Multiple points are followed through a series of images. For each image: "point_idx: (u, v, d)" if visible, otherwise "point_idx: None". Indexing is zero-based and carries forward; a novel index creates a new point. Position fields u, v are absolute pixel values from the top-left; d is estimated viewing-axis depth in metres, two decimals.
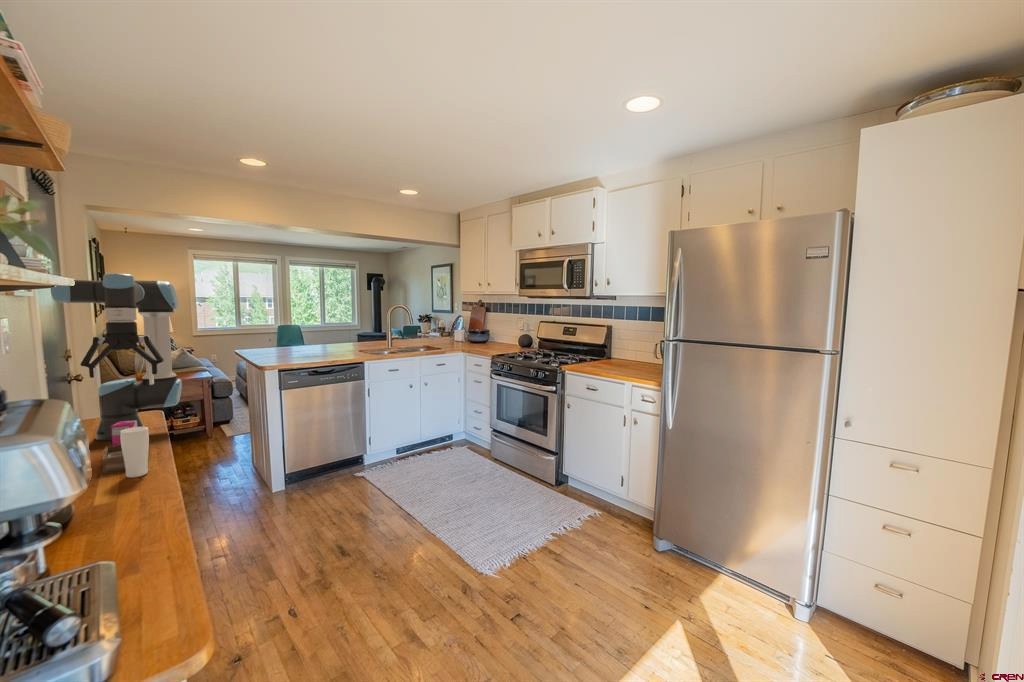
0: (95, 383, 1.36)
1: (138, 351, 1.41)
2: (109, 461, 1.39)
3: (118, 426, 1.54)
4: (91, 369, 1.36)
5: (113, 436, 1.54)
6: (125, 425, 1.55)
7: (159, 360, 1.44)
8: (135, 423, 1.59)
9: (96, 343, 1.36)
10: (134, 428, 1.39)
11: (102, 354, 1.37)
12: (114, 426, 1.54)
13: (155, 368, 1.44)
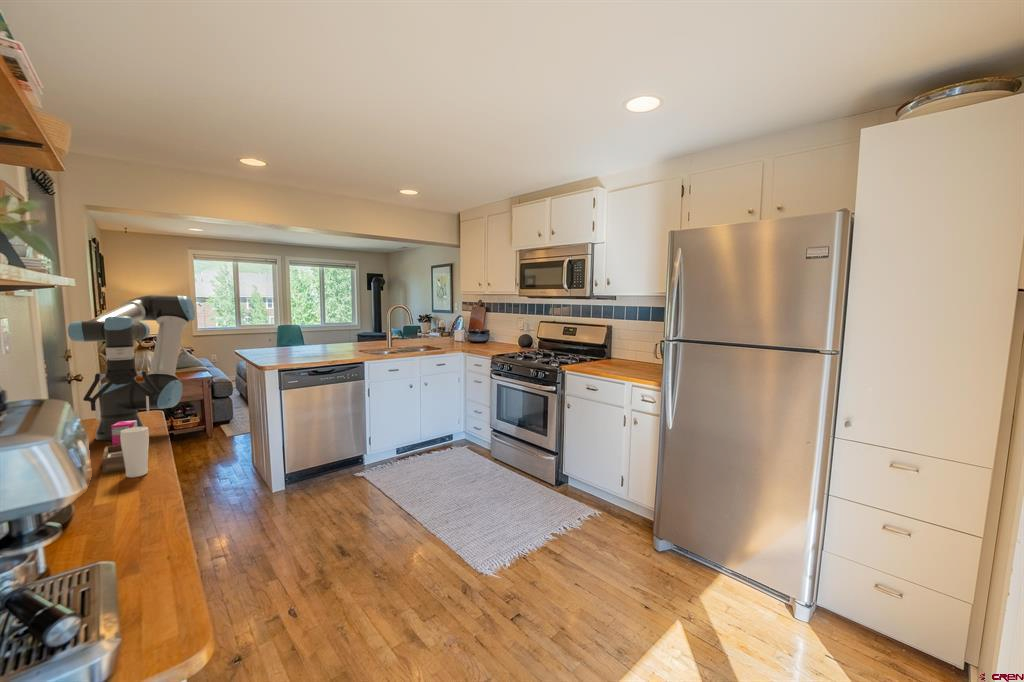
0: (97, 415, 1.51)
1: (136, 385, 1.58)
2: (109, 461, 1.39)
3: (118, 426, 1.54)
4: (93, 403, 1.51)
5: (113, 436, 1.54)
6: (125, 425, 1.55)
7: (156, 392, 1.61)
8: (135, 423, 1.59)
9: (98, 379, 1.51)
10: (134, 428, 1.39)
11: (103, 389, 1.52)
12: (114, 426, 1.54)
13: (151, 399, 1.61)
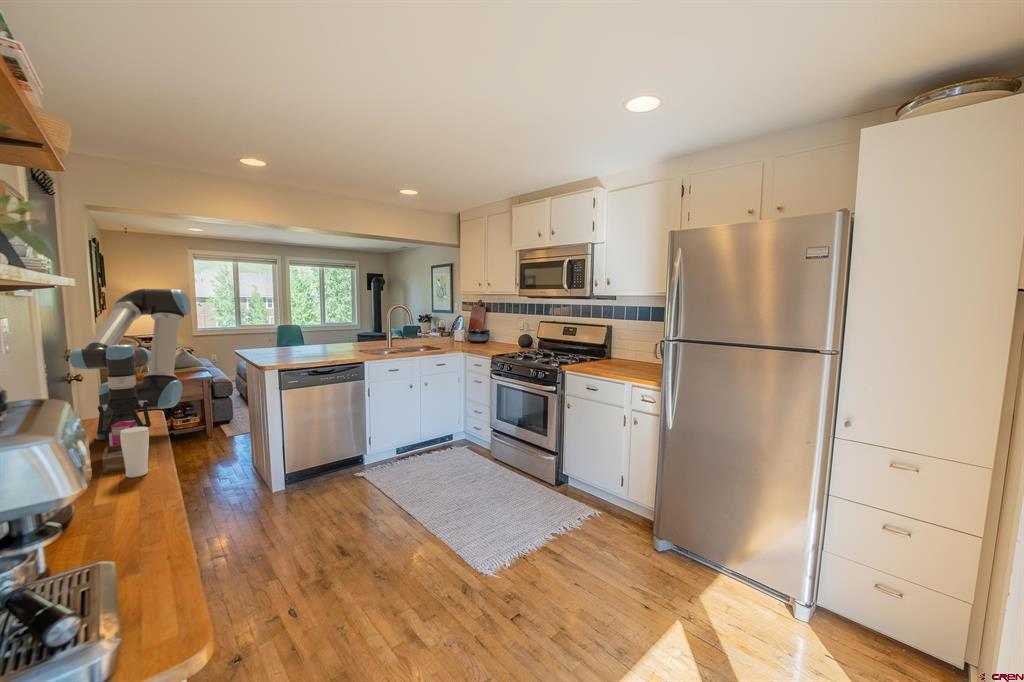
0: None
1: (134, 415, 1.58)
2: (109, 461, 1.39)
3: (118, 426, 1.54)
4: (106, 435, 1.54)
5: (113, 436, 1.54)
6: (125, 425, 1.55)
7: (148, 424, 1.61)
8: (135, 423, 1.59)
9: (102, 411, 1.52)
10: (134, 428, 1.39)
11: (112, 420, 1.54)
12: (114, 426, 1.54)
13: None
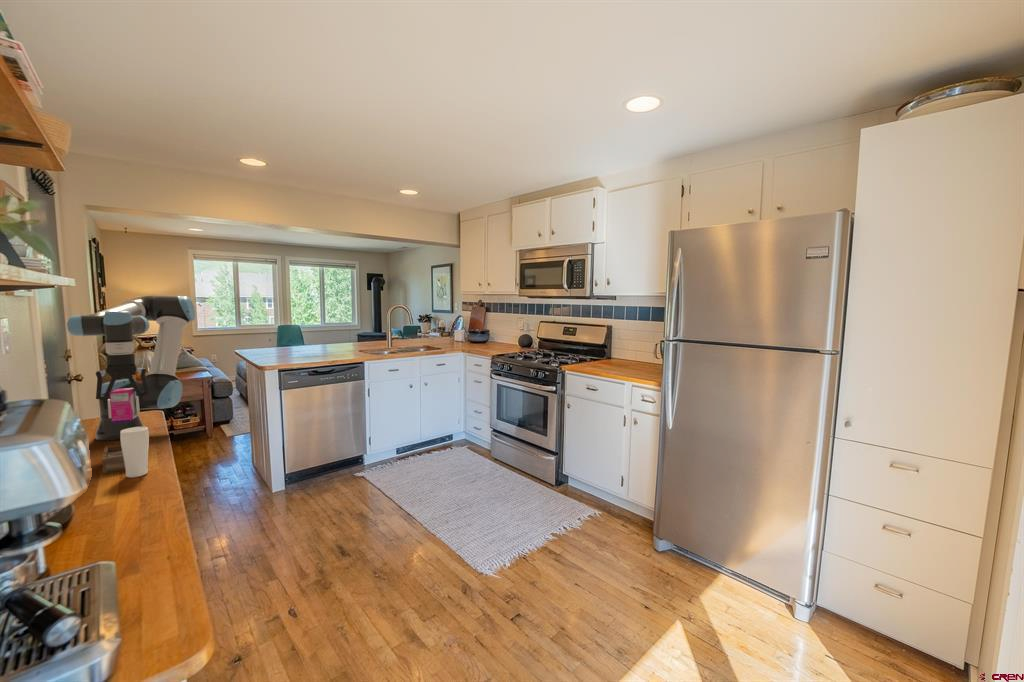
0: (109, 413, 1.54)
1: (132, 382, 1.57)
2: (109, 461, 1.39)
3: (117, 392, 1.54)
4: (105, 401, 1.53)
5: (112, 402, 1.53)
6: (124, 392, 1.54)
7: (146, 392, 1.60)
8: (134, 391, 1.59)
9: (100, 377, 1.51)
10: (134, 428, 1.39)
11: (110, 386, 1.53)
12: (113, 392, 1.53)
13: (142, 399, 1.60)
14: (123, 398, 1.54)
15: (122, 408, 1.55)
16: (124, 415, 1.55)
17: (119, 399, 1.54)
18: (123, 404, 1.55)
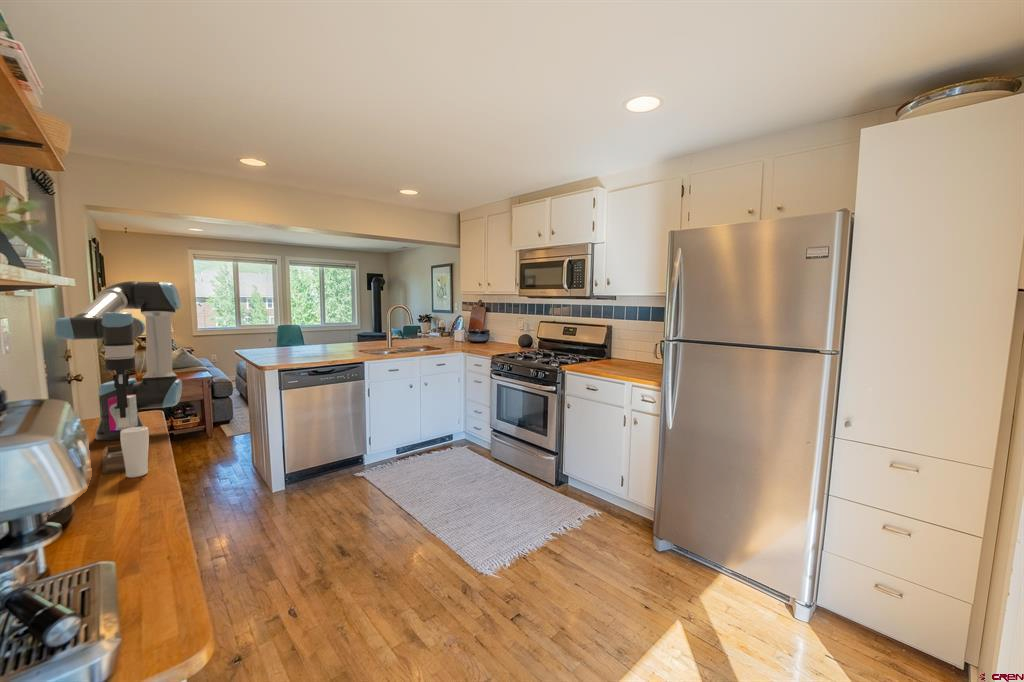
0: None
1: None
2: (109, 461, 1.39)
3: None
4: None
5: None
6: None
7: None
8: None
9: None
10: (134, 428, 1.39)
11: None
12: None
13: (120, 412, 1.42)
14: None
15: None
16: None
17: None
18: None
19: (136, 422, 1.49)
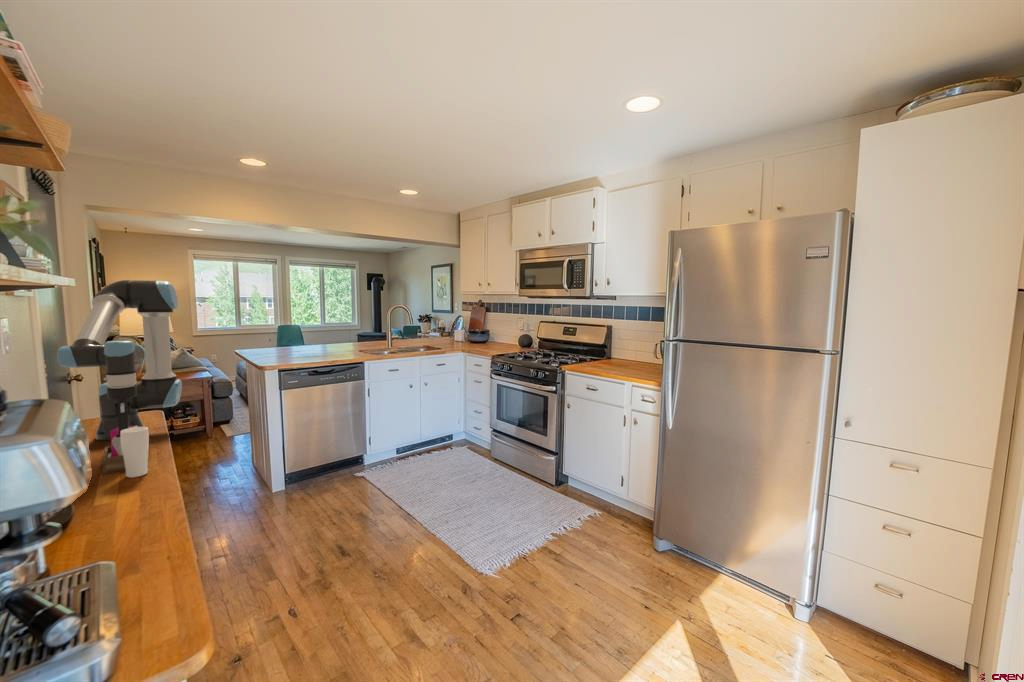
0: None
1: None
2: (109, 461, 1.39)
3: None
4: None
5: None
6: None
7: None
8: None
9: None
10: (134, 428, 1.39)
11: None
12: None
13: None
14: None
15: None
16: None
17: None
18: None
19: None
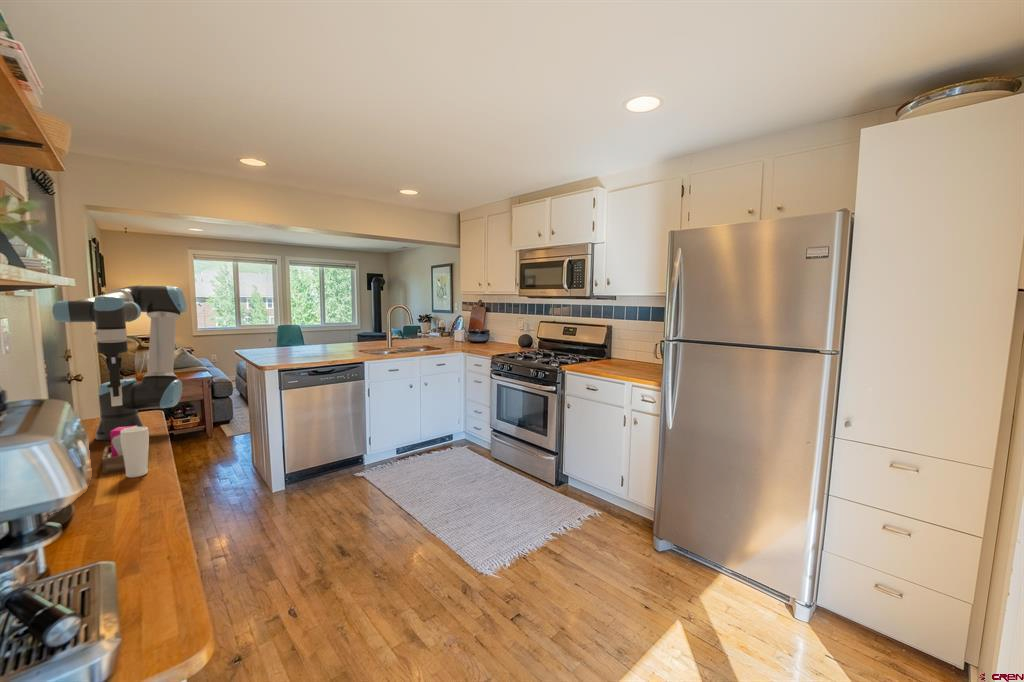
0: None
1: None
2: (109, 461, 1.39)
3: None
4: None
5: None
6: None
7: (110, 384, 1.41)
8: None
9: None
10: (134, 428, 1.39)
11: None
12: None
13: (113, 391, 1.42)
14: None
15: None
16: None
17: None
18: None
19: None
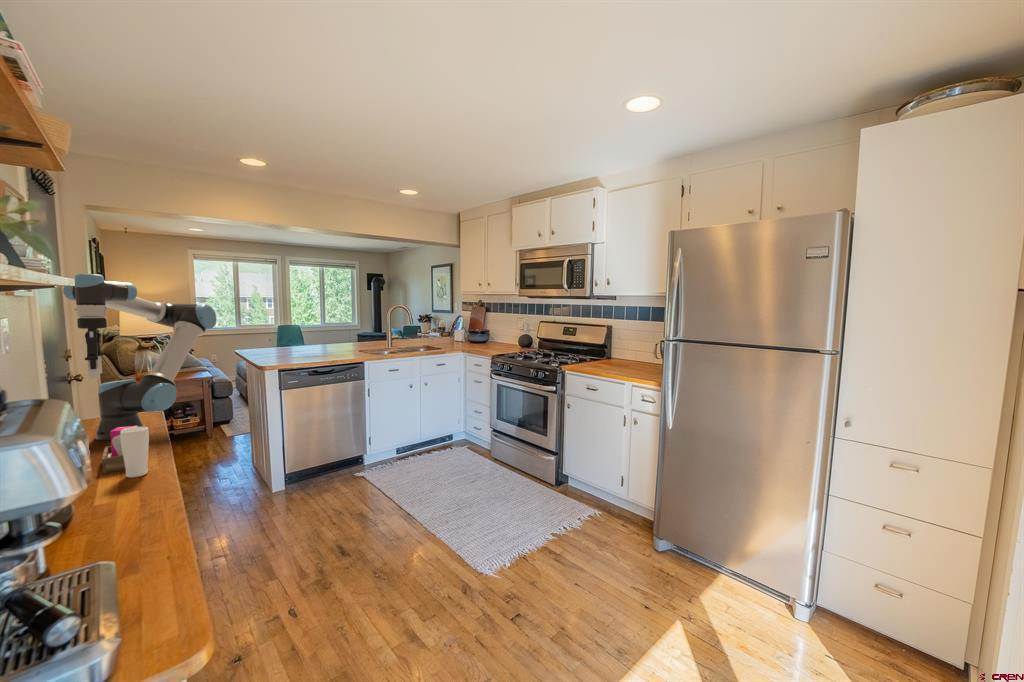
0: None
1: None
2: (109, 461, 1.39)
3: None
4: None
5: None
6: None
7: (87, 356, 1.47)
8: None
9: None
10: (134, 428, 1.39)
11: None
12: None
13: (90, 363, 1.48)
14: None
15: None
16: None
17: None
18: None
19: None
